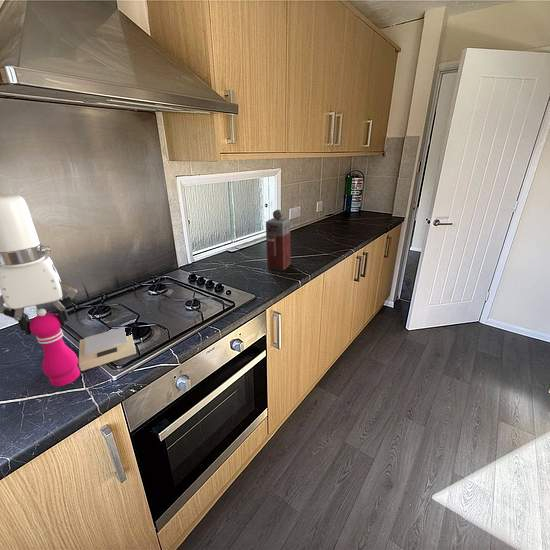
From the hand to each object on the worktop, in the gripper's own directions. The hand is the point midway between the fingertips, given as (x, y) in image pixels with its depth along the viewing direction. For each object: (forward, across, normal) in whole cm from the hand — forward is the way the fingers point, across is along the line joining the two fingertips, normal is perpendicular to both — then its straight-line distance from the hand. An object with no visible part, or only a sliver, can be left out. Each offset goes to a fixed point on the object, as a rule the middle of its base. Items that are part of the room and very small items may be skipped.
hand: (47, 327), depth 69 cm
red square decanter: (+16, -87, -39) cm, 96 cm away
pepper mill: (+15, 0, 0) cm, 15 cm away
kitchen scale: (+17, -10, -10) cm, 22 cm away
